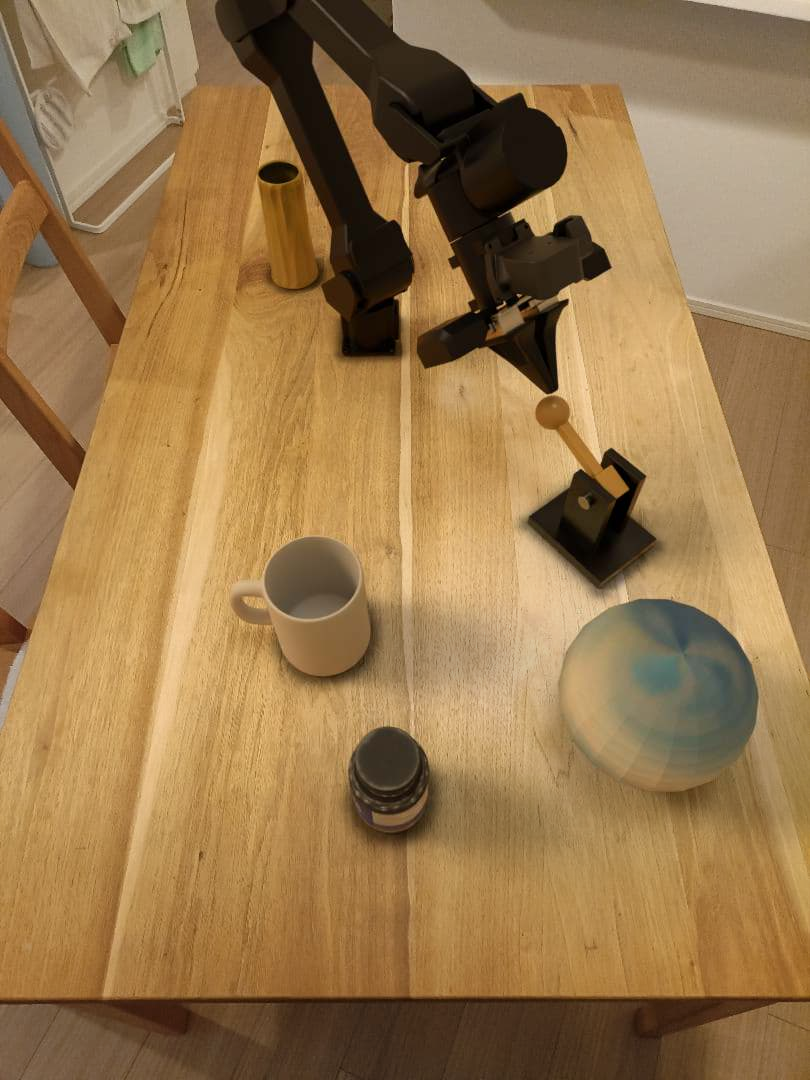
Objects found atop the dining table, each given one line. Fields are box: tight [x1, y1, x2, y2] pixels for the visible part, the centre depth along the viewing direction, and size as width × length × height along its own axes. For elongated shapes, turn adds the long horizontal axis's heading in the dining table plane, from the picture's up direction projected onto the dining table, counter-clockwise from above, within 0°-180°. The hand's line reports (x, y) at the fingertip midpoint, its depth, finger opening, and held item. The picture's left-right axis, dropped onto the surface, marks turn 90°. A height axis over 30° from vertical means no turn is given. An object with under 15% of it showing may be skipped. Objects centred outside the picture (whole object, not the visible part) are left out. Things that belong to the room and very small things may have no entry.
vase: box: [255, 158, 319, 290], centre depth 94 cm, size 6×6×14 cm
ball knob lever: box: [534, 394, 629, 499], centre depth 71 cm, size 12×3×3 cm, turn 39°
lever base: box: [527, 447, 657, 589], centre depth 74 cm, size 10×8×10 cm
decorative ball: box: [557, 598, 760, 793], centre depth 61 cm, size 15×15×15 cm
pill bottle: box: [347, 725, 430, 834], centre depth 59 cm, size 6×6×11 cm
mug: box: [228, 534, 371, 677], centre depth 68 cm, size 12×8×11 cm
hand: (552, 392), depth 70 cm, fingers closed
